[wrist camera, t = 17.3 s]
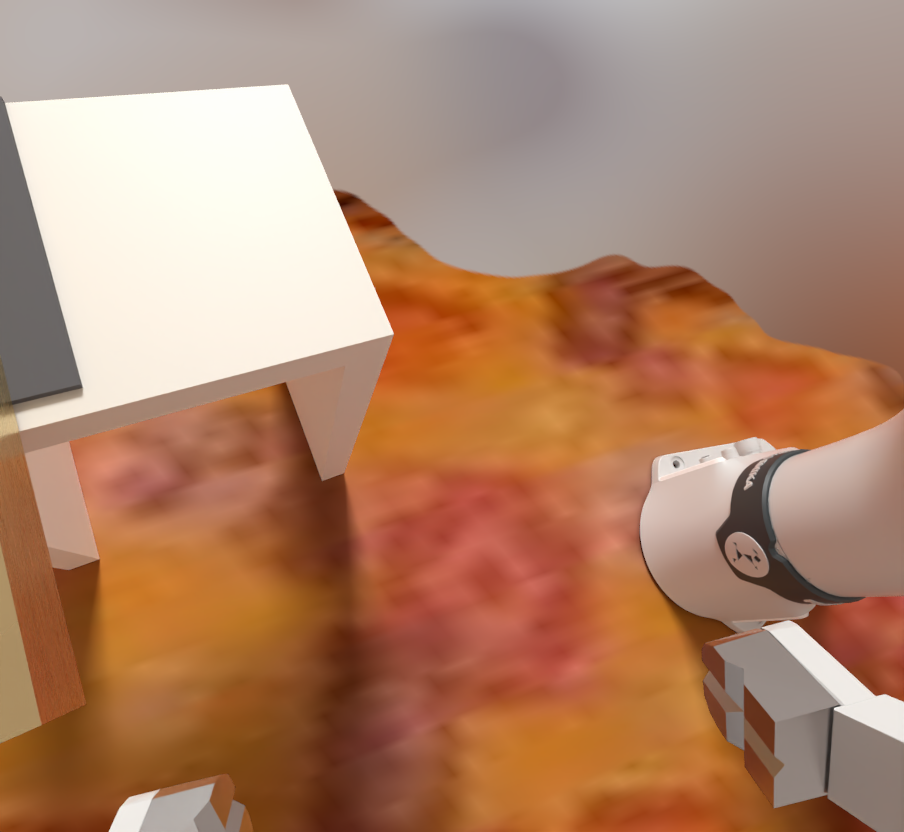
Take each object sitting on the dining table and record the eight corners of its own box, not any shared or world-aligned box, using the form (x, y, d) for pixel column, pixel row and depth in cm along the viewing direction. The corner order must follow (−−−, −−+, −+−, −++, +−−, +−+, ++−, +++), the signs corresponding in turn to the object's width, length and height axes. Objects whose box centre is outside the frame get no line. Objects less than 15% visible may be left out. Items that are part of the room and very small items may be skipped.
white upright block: (292, 335, 49) (287, 78, 25) (344, 473, 46) (395, 330, 22) (26, 399, 41) (-341, 117, 18) (68, 570, 38) (-303, 510, 15)
